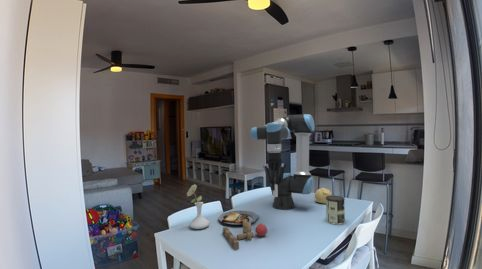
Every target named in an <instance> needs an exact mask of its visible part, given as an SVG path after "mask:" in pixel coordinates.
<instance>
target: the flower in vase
mask: <svg viewBox="0 0 482 269" xmlns="http://www.w3.org/2000/svg"><path fill="white" fill-rule="evenodd" d="M196 190H197V184H192V185H191V186H190V188H189V189H188V191H187V192H186V197H190V196H192V195H194V197H195V198H193V199H191V201H190V204H192V203H194V205H195V207H196V216H195V217H194V218H193V219H192V220H191V221H190V223H189V227H190V228H191V229H196V230H201V229H205V228H207V227H208V226H210V224H211V223H210V221H209V220H208V219H206V218H205V217H204V216H203V215H202V206H203V204H204V202H203V201H201V200H202V198H203V196H202V195H199V196H198V197H197V196H196V193H195V191H196Z"/></svg>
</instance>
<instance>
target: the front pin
mask: <svg viewBox="0 0 482 269" xmlns="http://www.w3.org/2000/svg"><path fill="white" fill-rule="evenodd" d="M254 237H255V233H254V232H253V231H251V238H254ZM236 239H237V240H238V241H239V240H244V239H246V240H247V233H245V234H243V233H240V234H236Z"/></svg>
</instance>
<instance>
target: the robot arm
mask: <svg viewBox="0 0 482 269" xmlns="http://www.w3.org/2000/svg"><path fill="white" fill-rule="evenodd" d="M315 128H316V126H315V121H314V117H313V116H312V115H311V114H309V113H308V114H307V113H306V114H305V113H303V114H289V115H285V116H281V117H279V118H277V119H276V120H275V121H273V122H268V123H266V124H264V125H262V126H254V127H252V128H251V129H250V138H251V139H252V140H255V141H256V140H257V141H258V140H259V141H262V140H263V141H264V140H265V141H266V152H267V153H266V157H267V159H266V160H267V162H266V164H265V165H263V166H262V168H263V170H264V171H265V176H266V177H265V178H266V181H267V183H268V184H270V185H271V186H270V187H271V188H270V190H271V191H272V197H274V198H273V201H272V207H273V209H278V210H284V211H286V210H291V209H294V208H295V202H294V198H293V196H292V195H293V194H301V195H310V194H311V193H312V192H313V190H314V187H315V186H314V185H315V179H314V177H313V176H312V173H310V136H311V135H312V133H313V132H314V131H315ZM291 132H293V134H294V135H295V137H296V139H295V140H296V144H295V146H296V147H295V150H296V151H295V172H293V175H292V173H291V172H285V169H286V167H287V164H285V163H283V161H282V159H283V155H282V140H283V141H284V140H287V139H288V138H290V135H291Z"/></svg>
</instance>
